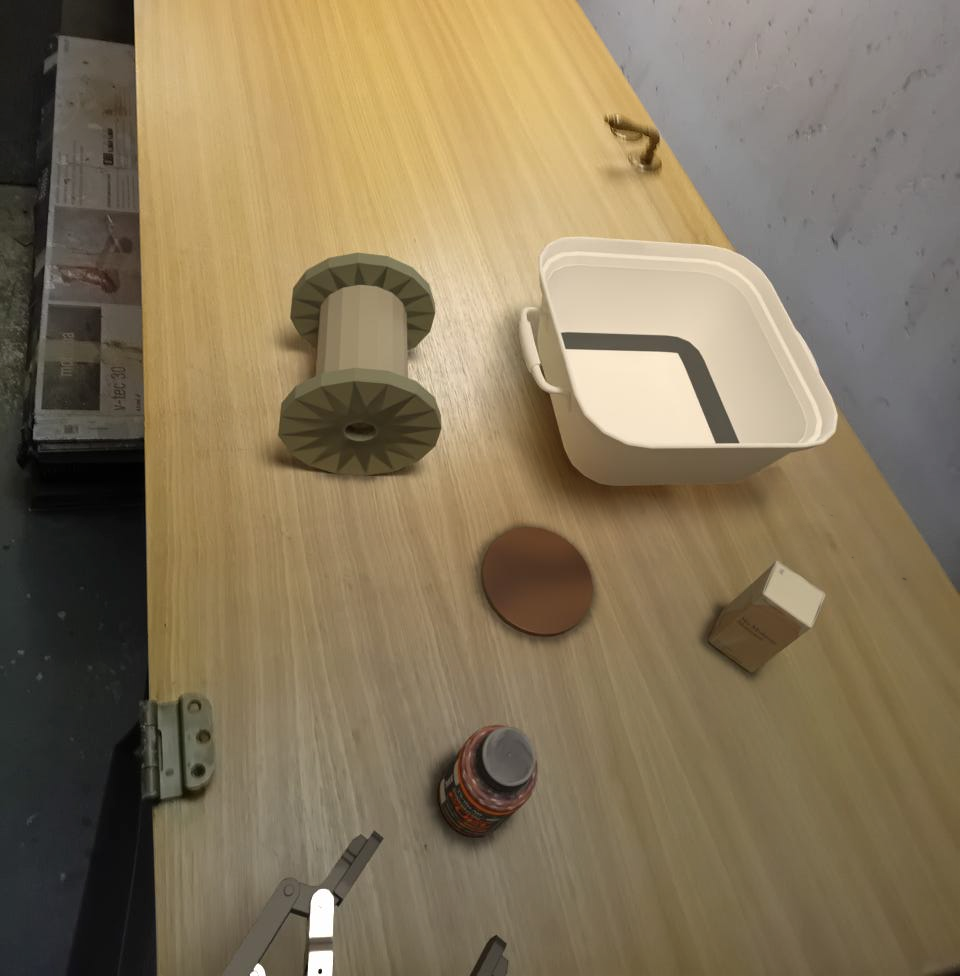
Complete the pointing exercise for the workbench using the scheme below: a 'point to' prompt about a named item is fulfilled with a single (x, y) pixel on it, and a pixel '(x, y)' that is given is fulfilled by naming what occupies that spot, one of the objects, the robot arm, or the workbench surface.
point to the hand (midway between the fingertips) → (436, 887)
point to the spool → (361, 367)
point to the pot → (670, 363)
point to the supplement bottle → (488, 780)
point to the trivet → (537, 581)
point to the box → (767, 617)
